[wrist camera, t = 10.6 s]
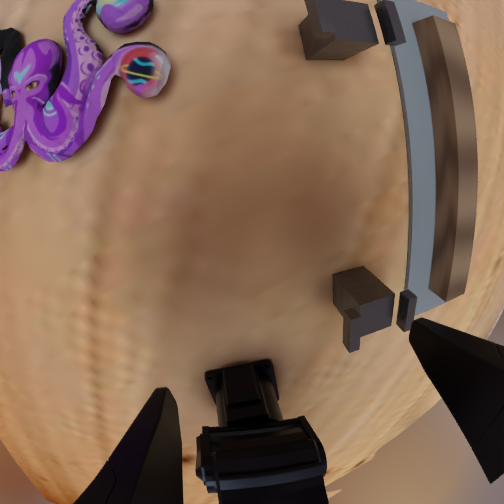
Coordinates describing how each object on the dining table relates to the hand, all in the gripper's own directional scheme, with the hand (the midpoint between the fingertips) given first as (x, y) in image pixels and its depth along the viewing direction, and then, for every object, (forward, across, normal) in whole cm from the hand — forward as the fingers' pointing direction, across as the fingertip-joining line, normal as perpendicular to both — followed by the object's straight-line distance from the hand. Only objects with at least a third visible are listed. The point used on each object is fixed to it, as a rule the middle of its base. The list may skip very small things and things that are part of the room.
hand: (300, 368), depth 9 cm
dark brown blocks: (+13, -8, +6) cm, 16 cm away
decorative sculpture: (+14, +14, -16) cm, 25 cm away
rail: (+12, -19, -4) cm, 23 cm away
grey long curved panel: (+13, -19, -4) cm, 23 cm away
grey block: (+13, -8, -14) cm, 21 cm away
